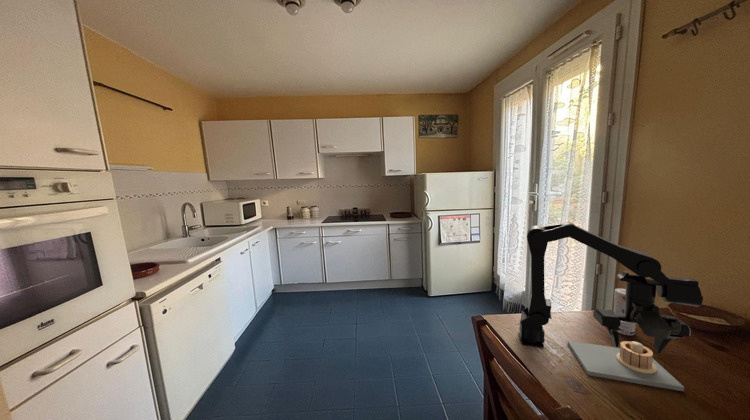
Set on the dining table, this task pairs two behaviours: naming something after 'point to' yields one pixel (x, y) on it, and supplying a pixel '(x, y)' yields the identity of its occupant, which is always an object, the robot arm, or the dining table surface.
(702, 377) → the dining table surface
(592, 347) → the bobbin board
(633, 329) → the beverage can
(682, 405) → the dining table surface
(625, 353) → the wooden slatted ring
